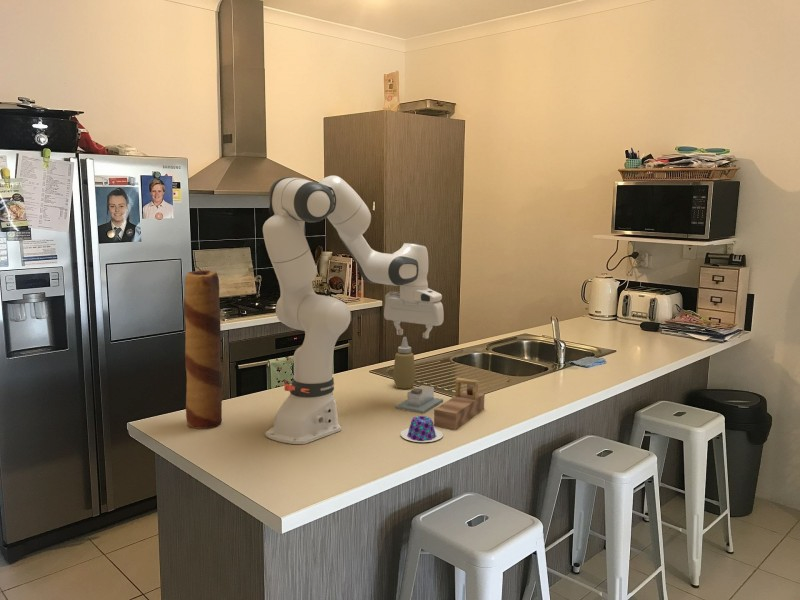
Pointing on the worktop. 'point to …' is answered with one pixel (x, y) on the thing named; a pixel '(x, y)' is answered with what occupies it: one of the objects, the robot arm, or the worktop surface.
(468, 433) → the worktop surface
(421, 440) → the pudding
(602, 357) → the worktop surface
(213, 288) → the wafer roll
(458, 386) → the brown stand
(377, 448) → the worktop surface
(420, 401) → the lever cap
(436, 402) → the rubber mat
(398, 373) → the squeeze bottle
